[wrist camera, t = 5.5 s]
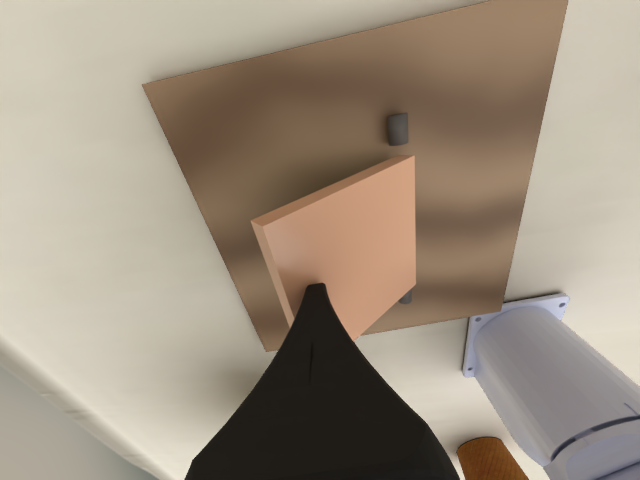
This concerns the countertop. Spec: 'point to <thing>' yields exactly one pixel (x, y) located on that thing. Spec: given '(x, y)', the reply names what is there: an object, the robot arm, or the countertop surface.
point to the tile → (346, 243)
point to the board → (376, 145)
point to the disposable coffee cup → (488, 461)
